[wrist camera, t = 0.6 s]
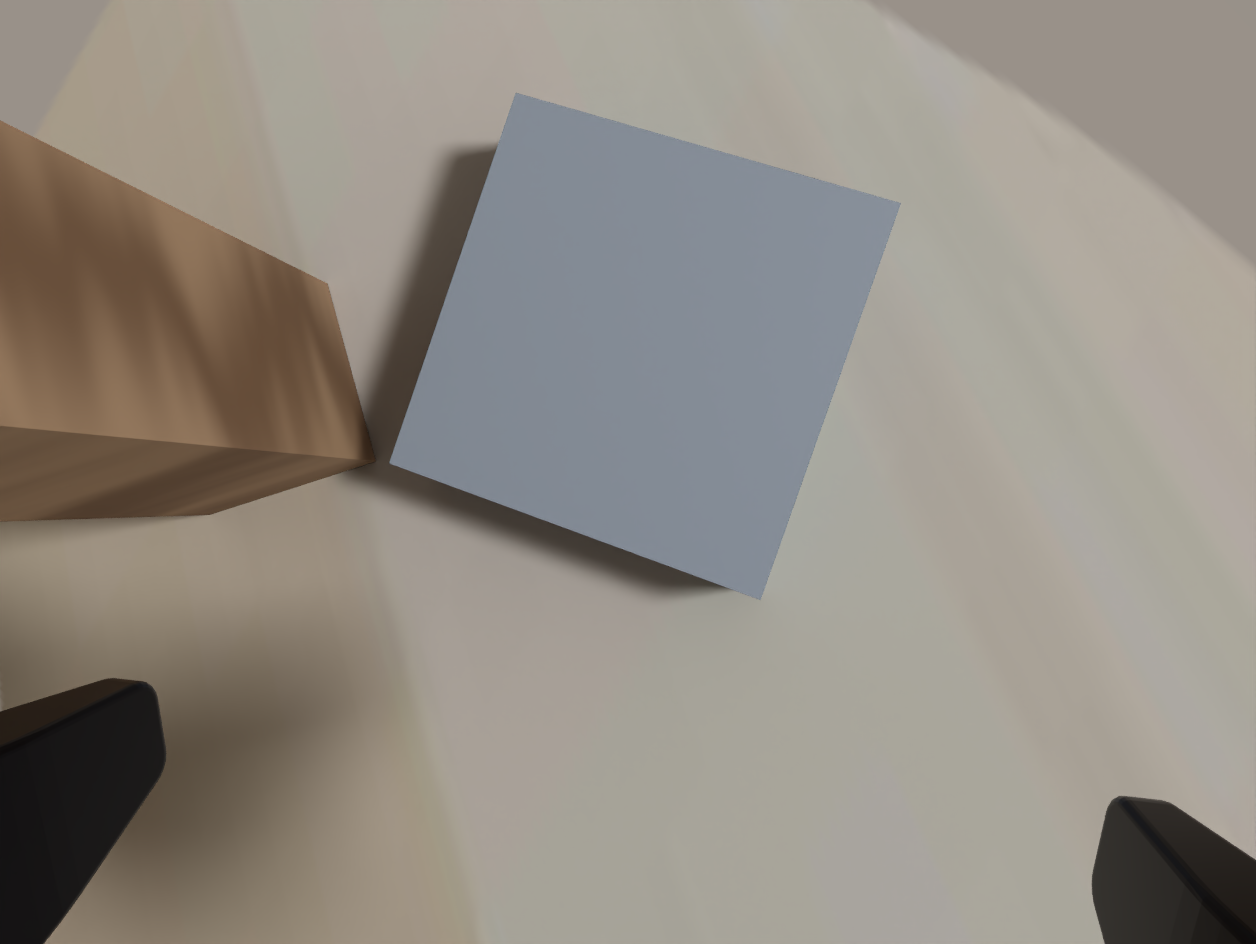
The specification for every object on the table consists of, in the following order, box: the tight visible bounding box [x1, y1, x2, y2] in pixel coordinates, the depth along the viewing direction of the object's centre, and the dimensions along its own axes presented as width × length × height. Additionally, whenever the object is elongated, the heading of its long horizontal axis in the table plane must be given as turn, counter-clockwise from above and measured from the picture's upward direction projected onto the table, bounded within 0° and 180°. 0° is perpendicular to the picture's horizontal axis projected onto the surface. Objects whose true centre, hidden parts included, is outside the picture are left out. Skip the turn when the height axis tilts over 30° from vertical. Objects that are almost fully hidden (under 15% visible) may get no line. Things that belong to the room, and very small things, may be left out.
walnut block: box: [0, 121, 376, 521], centre depth 17 cm, size 5×5×12 cm
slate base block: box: [389, 93, 901, 600], centre depth 20 cm, size 9×9×3 cm
